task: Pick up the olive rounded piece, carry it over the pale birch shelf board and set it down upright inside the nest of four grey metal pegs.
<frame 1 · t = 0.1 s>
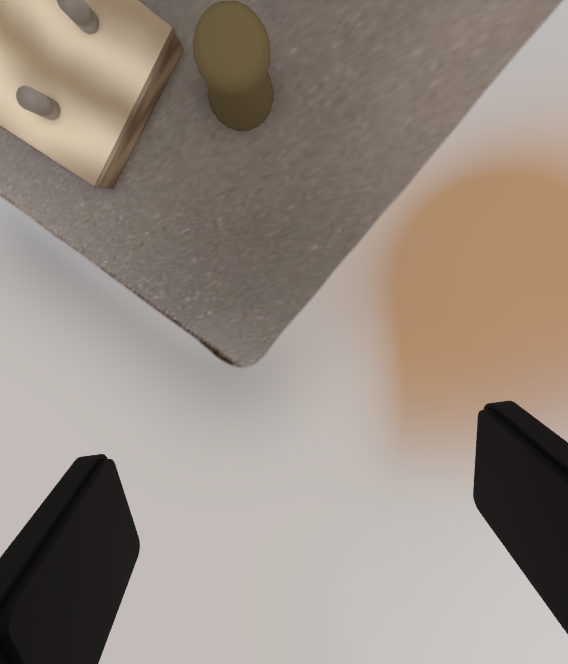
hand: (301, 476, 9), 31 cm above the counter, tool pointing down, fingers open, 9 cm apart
shelf board: (53, 56, 32), on the counter
olive rounded piece: (241, 95, 34), on the counter
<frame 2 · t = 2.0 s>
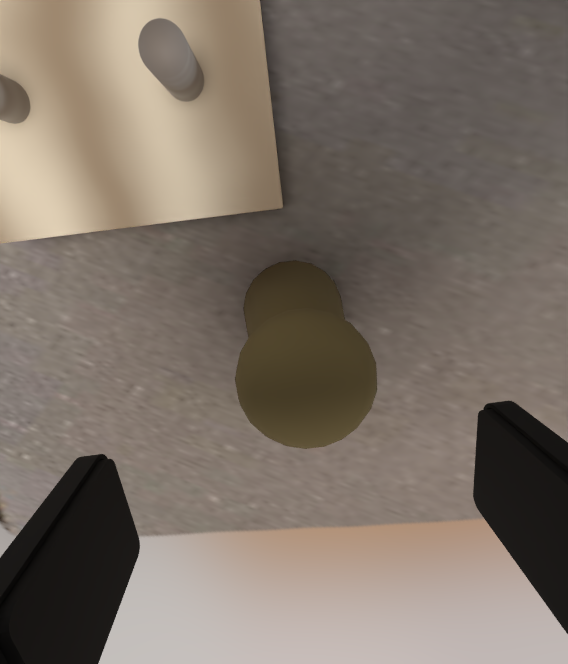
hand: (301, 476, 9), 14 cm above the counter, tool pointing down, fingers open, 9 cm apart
shelf board: (113, 28, 17), on the counter
olive rounded piece: (292, 309, 22), on the counter
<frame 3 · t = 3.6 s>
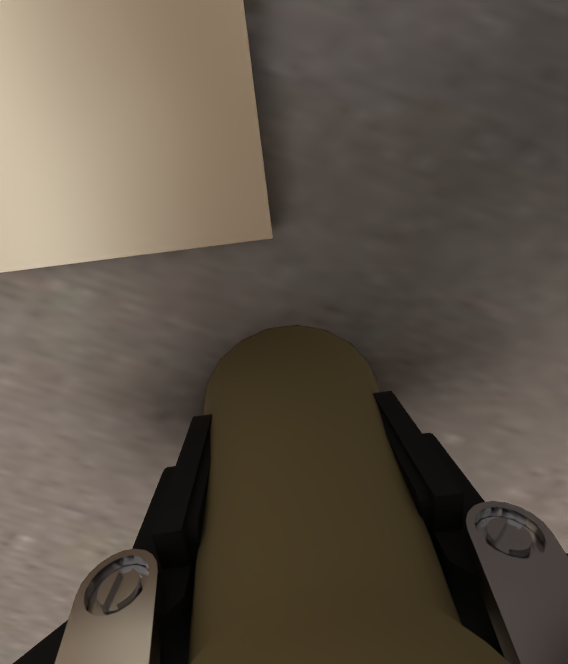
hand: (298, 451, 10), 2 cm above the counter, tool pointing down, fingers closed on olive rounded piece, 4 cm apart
olive rounded piece: (292, 406, 13), on the counter, touching gripper
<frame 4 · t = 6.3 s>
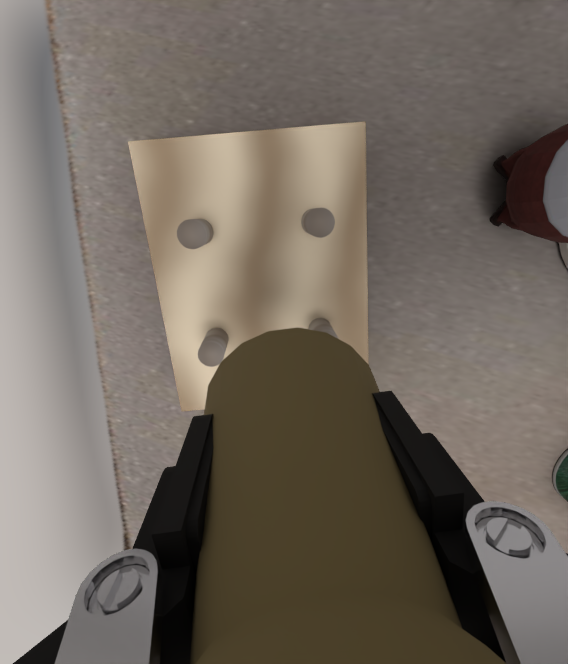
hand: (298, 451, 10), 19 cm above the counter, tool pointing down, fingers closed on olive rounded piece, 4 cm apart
shelf board: (263, 273, 28), on the counter
mate gourd: (522, 195, 27), on the counter
olive rounded piece: (292, 407, 13), point 17 cm above the counter, touching gripper
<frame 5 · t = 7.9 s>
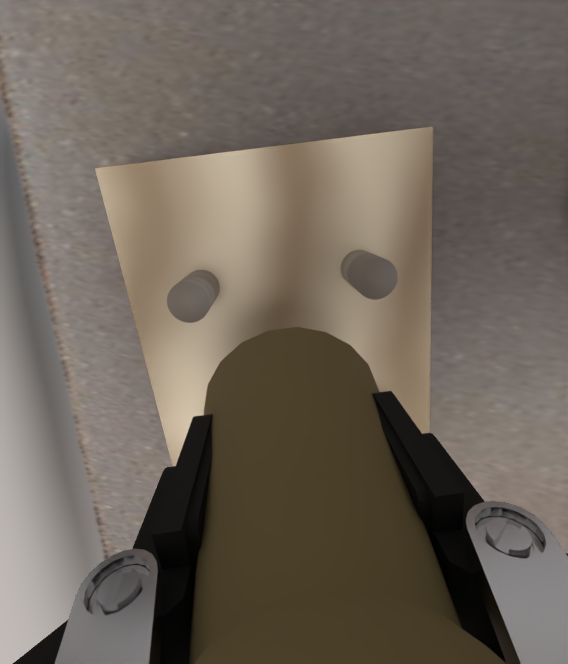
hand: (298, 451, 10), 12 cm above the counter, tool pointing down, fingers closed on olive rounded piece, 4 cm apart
shelf board: (285, 325, 21), on the counter
olive rounded piece: (292, 407, 13), point 9 cm above the counter, touching gripper
when the fingers open (8 cm above the counter, at t = 9.3 s): olive rounded piece drops 2 cm, resting on shelf board.
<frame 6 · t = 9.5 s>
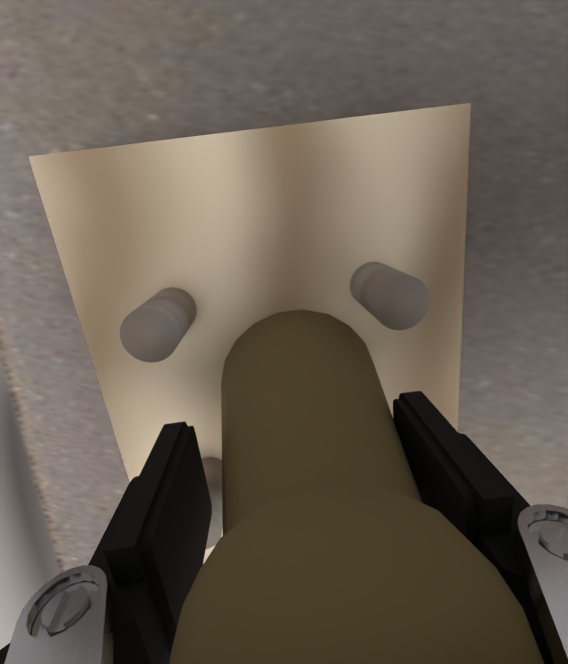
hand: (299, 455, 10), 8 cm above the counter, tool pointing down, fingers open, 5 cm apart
shelf board: (280, 349, 18), on the counter
olive rounded piece: (298, 381, 14), point 4 cm above the counter, touching gripper, shelf board
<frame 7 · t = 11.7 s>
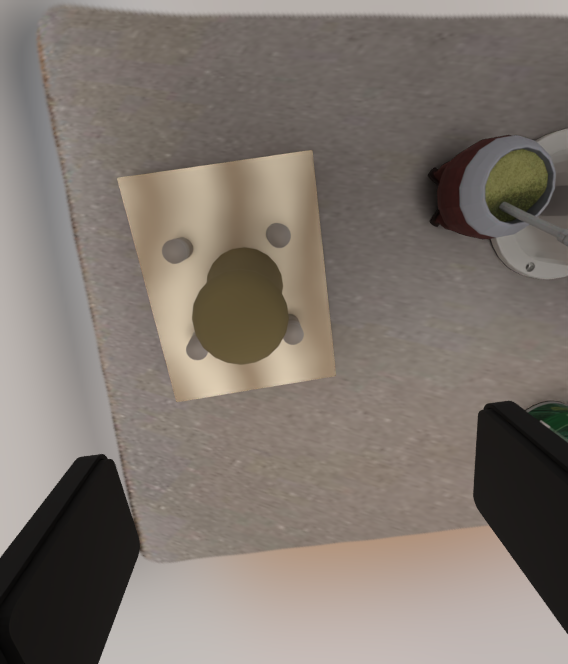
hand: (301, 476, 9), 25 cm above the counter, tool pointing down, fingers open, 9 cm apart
shelf board: (240, 279, 32), on the counter
canned tomato: (540, 431, 40), on the counter
mate gourd: (455, 199, 32), on the counter
olive rounded piece: (245, 285, 29), point 4 cm above the counter, touching shelf board
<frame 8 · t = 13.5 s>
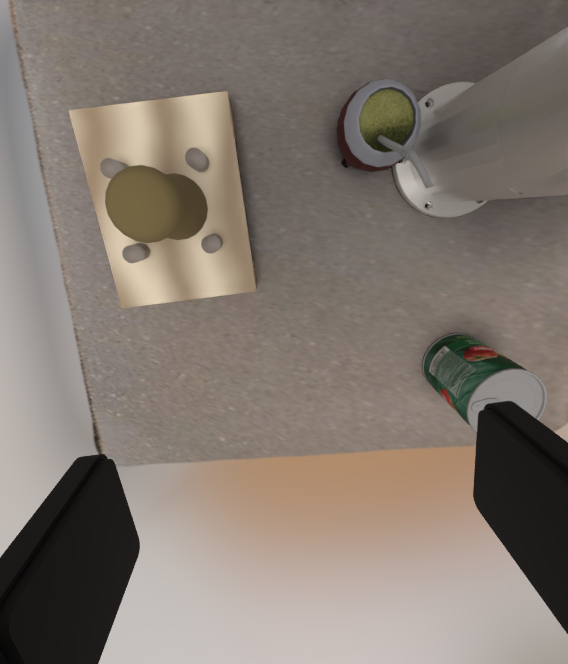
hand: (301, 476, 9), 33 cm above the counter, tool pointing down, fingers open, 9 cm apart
shelf board: (179, 208, 38), on the counter
canned tomato: (451, 361, 46), on the counter
mate gourd: (363, 144, 37), on the counter
olive rounded piece: (176, 207, 35), point 4 cm above the counter, touching shelf board
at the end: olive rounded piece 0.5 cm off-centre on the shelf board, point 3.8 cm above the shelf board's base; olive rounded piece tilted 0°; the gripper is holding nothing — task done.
